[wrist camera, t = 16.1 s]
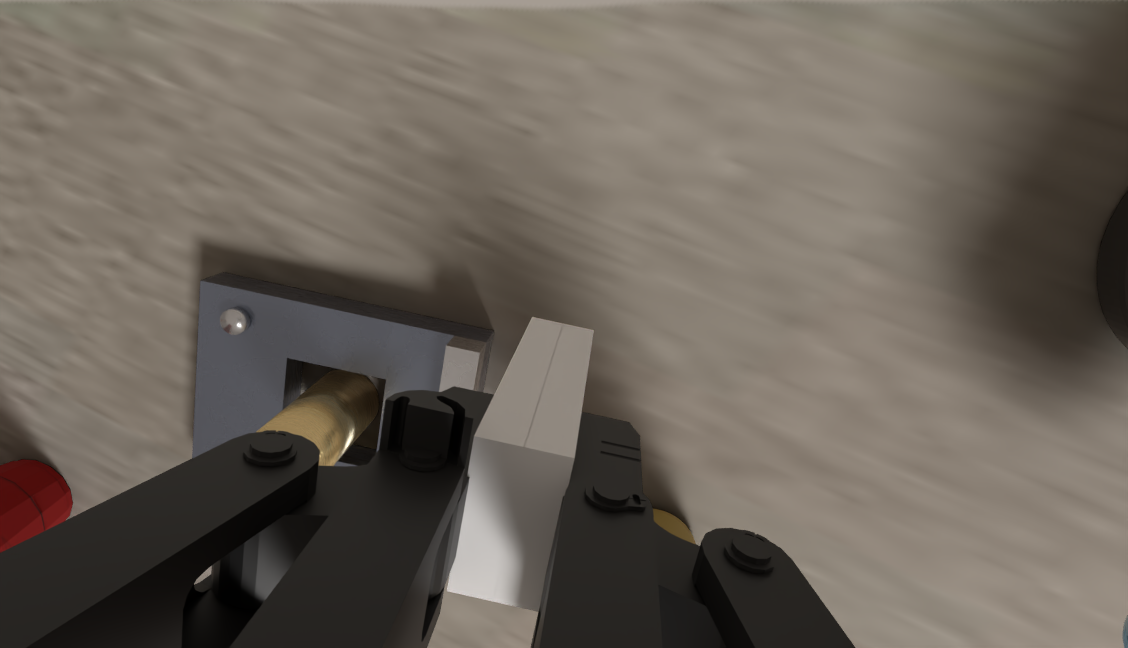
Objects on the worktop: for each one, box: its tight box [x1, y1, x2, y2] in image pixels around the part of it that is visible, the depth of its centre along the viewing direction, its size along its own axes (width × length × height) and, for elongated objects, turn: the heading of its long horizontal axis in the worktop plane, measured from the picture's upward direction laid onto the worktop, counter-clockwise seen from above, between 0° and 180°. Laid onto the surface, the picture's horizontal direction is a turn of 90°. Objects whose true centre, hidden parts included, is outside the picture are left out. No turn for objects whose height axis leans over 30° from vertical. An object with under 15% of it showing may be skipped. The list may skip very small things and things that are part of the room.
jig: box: [192, 272, 494, 466], centre depth 44 cm, size 18×14×4 cm
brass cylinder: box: [257, 369, 379, 466], centre depth 42 cm, size 4×4×9 cm
